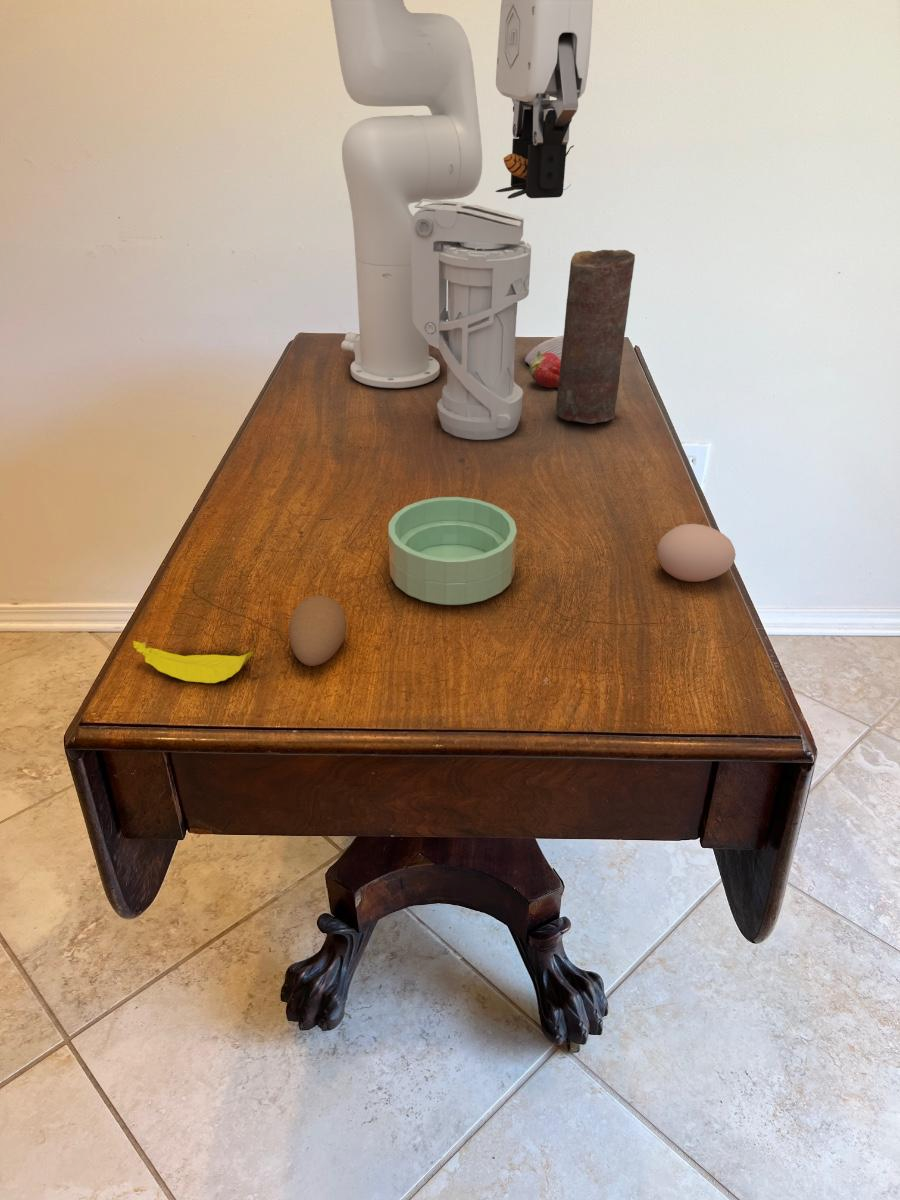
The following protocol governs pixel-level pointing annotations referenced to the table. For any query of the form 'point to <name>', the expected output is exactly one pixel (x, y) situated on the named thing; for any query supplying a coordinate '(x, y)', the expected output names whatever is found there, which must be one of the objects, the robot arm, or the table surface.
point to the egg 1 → (317, 629)
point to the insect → (517, 173)
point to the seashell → (546, 349)
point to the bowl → (452, 550)
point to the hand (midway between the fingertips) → (536, 190)
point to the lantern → (471, 310)
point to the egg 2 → (695, 552)
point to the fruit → (546, 370)
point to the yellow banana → (193, 664)
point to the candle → (594, 334)
